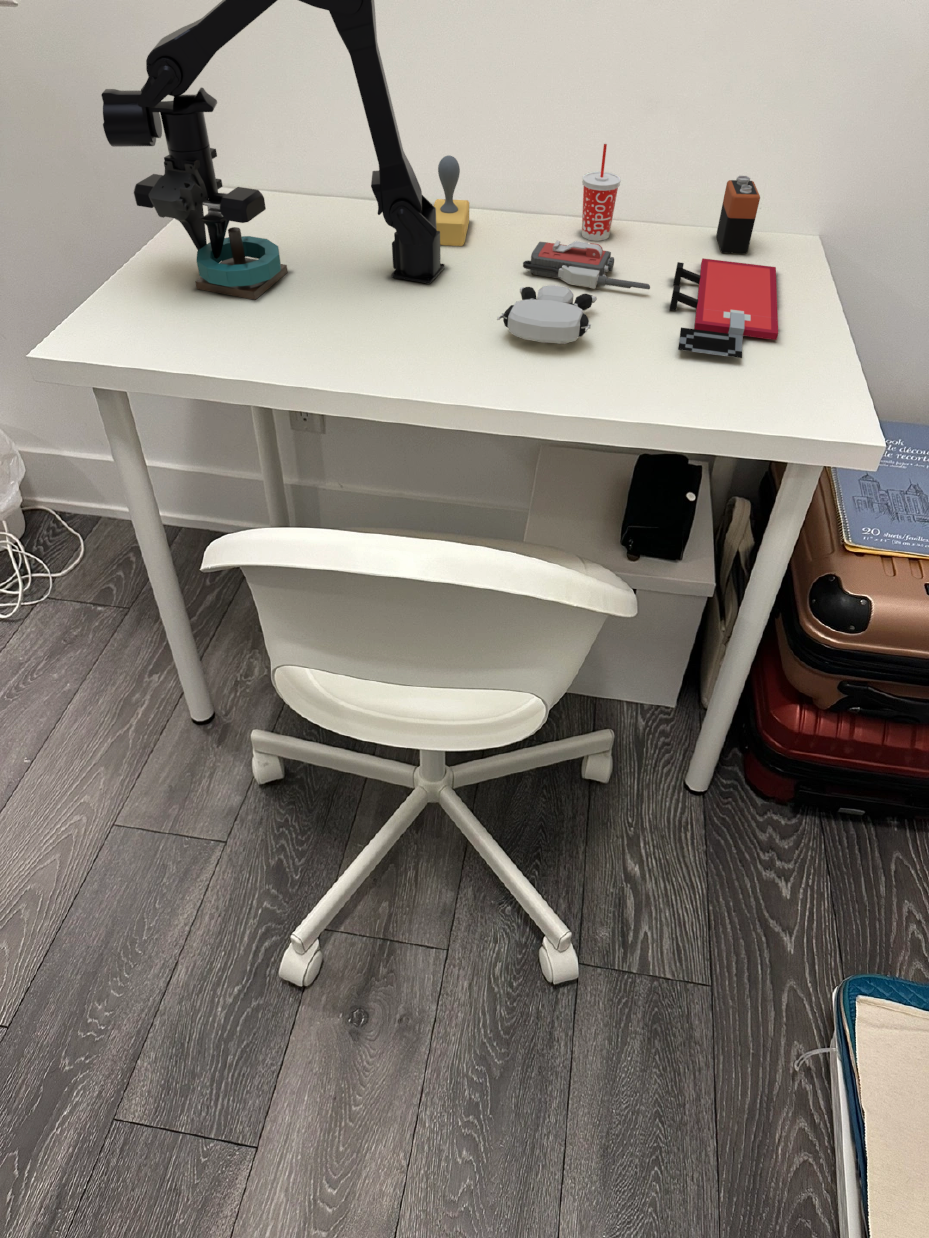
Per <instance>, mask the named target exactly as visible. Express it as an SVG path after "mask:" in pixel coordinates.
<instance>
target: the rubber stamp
mask: <svg viewBox="0 0 929 1238" xmlns="http://www.w3.org/2000/svg"><path fill="white" fill-rule="evenodd" d="M437 174H438V178H439V182H440V184H441V186H442V190H443V192H444V198H436V200H435V201H434V202H433V203H434V204H433V206H434V207H435V208H436V226H437V231H440V246H452V247H453V246H454V247H463V246H464V244H465V241H466V237H467V233H468V228H469V224H470V201H469V200H468V199H454V193H455V190H456V187H457V184H458V181H459V178H460V174H461V168H460V164H459V162H458V160H457V158H456V157H455V156H453V155H449V154H448V155H445V156H443V157H442V158H441V159H440V160H439V163H438V166H437Z"/></svg>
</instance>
